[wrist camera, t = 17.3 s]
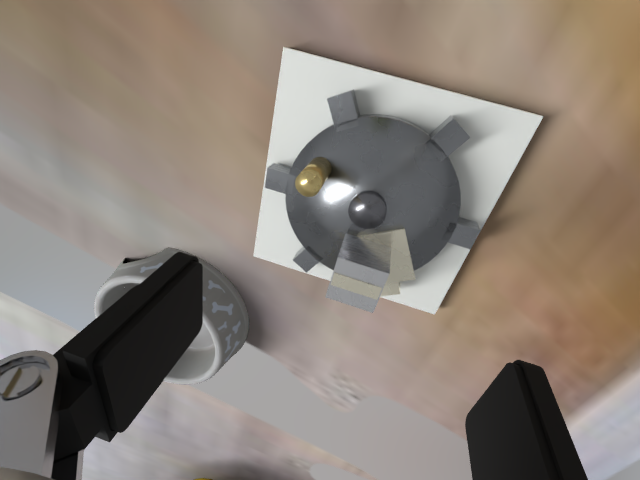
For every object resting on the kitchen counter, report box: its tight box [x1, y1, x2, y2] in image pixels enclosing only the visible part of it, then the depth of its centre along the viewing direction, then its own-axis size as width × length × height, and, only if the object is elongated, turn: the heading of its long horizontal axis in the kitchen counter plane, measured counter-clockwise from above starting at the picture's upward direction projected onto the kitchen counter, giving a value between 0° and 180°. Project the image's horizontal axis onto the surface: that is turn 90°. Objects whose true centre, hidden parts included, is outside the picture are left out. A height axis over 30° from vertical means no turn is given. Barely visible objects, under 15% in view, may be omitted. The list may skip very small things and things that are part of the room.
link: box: [326, 233, 391, 313], centre depth 27 cm, size 4×4×4 cm
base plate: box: [254, 47, 543, 314], centre depth 29 cm, size 19×19×1 cm
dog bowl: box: [94, 247, 249, 385], centre depth 40 cm, size 17×18×5 cm
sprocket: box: [265, 89, 481, 296], centre depth 26 cm, size 18×17×6 cm
